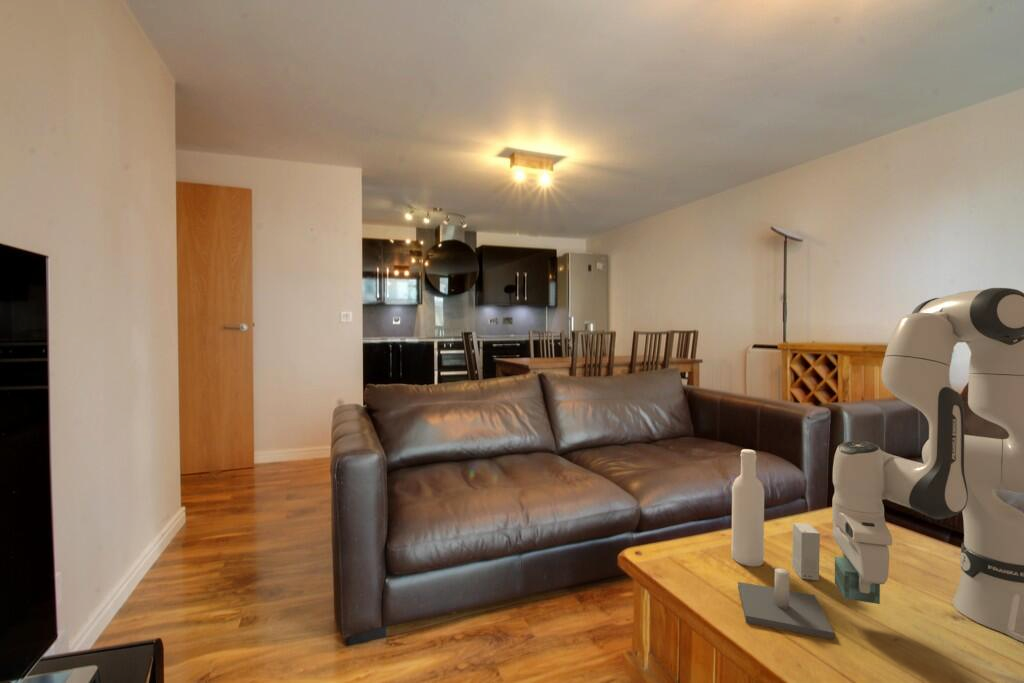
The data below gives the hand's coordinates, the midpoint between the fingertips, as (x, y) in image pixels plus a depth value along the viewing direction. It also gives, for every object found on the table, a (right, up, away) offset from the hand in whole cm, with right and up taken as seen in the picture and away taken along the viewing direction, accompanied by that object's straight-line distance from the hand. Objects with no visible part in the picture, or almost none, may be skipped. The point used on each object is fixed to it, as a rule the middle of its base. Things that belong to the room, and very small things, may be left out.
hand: (856, 581), depth 99 cm
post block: (-14, -9, +3) cm, 17 cm away
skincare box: (+1, -8, +19) cm, 21 cm away
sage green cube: (0, -3, 0) cm, 3 cm away
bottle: (-10, -8, +26) cm, 29 cm away
